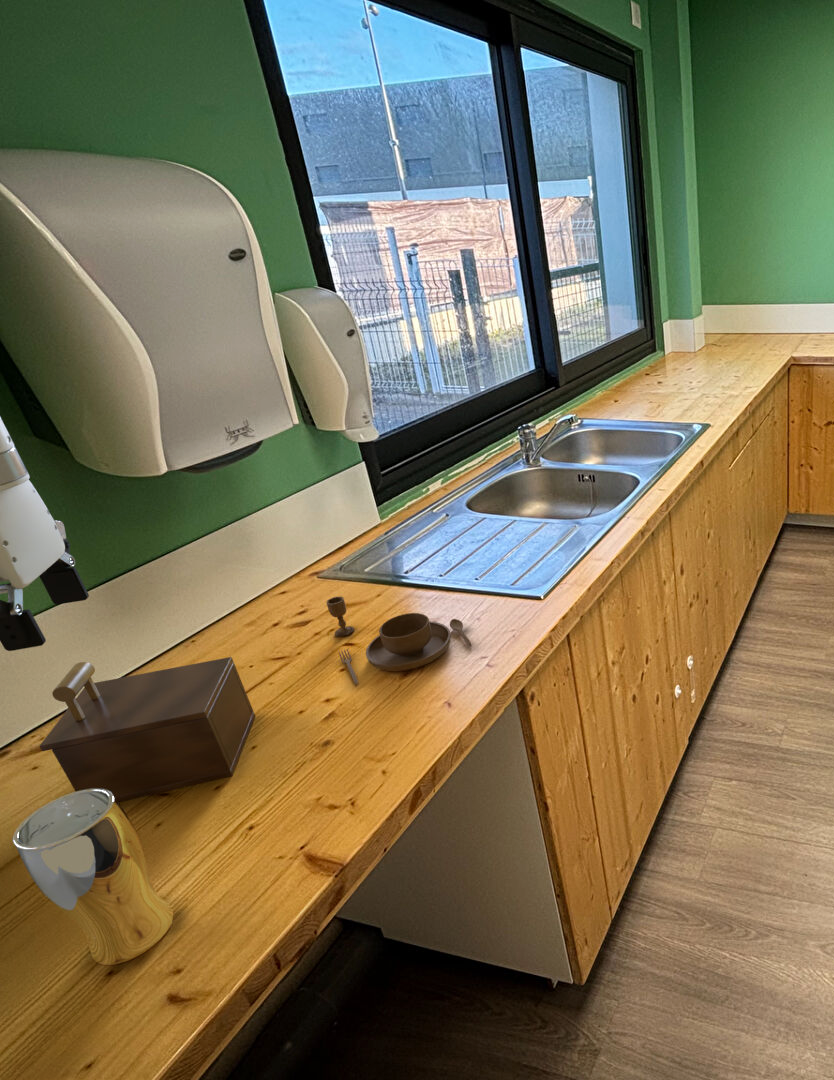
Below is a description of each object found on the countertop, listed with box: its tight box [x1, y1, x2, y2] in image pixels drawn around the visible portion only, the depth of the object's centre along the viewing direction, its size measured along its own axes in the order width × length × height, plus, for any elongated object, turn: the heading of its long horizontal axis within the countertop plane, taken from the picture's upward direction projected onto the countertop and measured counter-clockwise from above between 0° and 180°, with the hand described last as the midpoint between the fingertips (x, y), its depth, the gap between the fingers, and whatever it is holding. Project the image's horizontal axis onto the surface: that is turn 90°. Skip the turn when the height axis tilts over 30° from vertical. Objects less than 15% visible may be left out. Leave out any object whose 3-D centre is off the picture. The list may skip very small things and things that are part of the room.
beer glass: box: [12, 788, 174, 966], centre depth 62 cm, size 7×7×15 cm
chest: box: [51, 661, 256, 803], centre depth 84 cm, size 15×12×9 cm
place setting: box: [325, 596, 473, 686], centre depth 108 cm, size 18×20×6 cm
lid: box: [39, 656, 234, 752], centre depth 81 cm, size 15×12×6 cm
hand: (50, 622), depth 75 cm, fingers open, 9 cm apart
